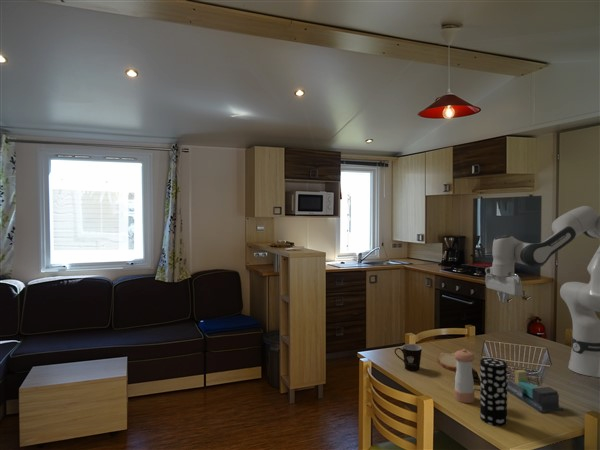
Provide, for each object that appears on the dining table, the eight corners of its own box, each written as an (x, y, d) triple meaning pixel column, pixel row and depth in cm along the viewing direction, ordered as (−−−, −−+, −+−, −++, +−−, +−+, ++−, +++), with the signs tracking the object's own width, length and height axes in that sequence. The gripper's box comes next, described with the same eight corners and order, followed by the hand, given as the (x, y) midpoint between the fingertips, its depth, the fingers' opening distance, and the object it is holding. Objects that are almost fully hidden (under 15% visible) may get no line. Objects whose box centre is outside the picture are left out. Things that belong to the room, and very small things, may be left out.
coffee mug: (425, 369, 181) (425, 347, 181) (414, 373, 176) (413, 351, 176) (405, 361, 191) (405, 341, 190) (393, 366, 186) (393, 345, 185)
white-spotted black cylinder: (503, 428, 131) (503, 368, 130) (477, 420, 136) (477, 362, 136) (509, 418, 137) (509, 361, 136) (484, 411, 142) (484, 356, 142)
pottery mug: (486, 388, 162) (478, 373, 160) (464, 397, 164) (456, 382, 162) (474, 369, 174) (467, 355, 172) (454, 378, 175) (447, 363, 173)
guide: (516, 382, 166) (516, 367, 166) (563, 410, 142) (563, 393, 142) (497, 384, 164) (497, 369, 164) (541, 412, 141) (541, 395, 141)
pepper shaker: (455, 393, 157) (455, 345, 157) (475, 397, 153) (475, 348, 153) (452, 400, 151) (452, 350, 150) (473, 405, 147) (473, 353, 147)
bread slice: (456, 374, 177) (456, 365, 176) (424, 361, 192) (424, 354, 192) (481, 365, 186) (481, 357, 186) (449, 354, 201) (449, 347, 201)
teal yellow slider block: (522, 387, 158) (522, 369, 158) (552, 404, 144) (552, 385, 144) (514, 387, 158) (514, 370, 158) (543, 405, 143) (543, 386, 143)
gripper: (526, 274, 168) (526, 306, 169) (494, 268, 189) (494, 297, 189) (512, 274, 167) (512, 307, 168) (482, 268, 188) (482, 297, 188)
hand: (503, 301), depth 178 cm, fingers closed
